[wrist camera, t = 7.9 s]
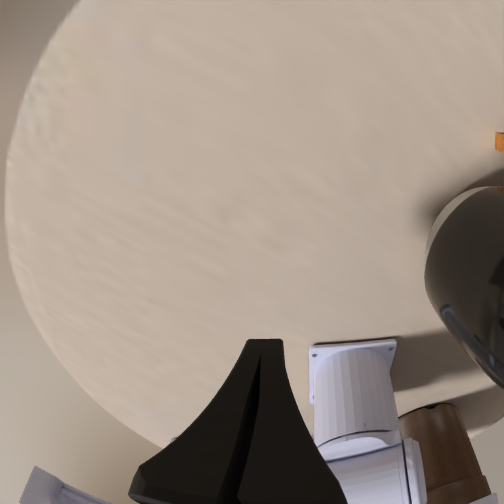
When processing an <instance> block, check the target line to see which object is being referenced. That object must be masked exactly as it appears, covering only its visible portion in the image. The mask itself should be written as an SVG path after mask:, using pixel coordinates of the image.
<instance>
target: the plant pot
mask: <svg viewBox="0 0 504 504" xmlns="http://www.w3.org/2000/svg"><path fill="white" fill-rule="evenodd" d="M398 419H399V424H400V430H401V434H402V437H403V440H405V439H407V438H412V439H413V440H415V441H417V442H419V447H420V452H421V458H422V464H423V470H424V477H425V485H426V493H427V503H426V504H469V503H471V502H474V501H476V500H479V499H481V498H484V497H486V496H488V495H491V491H490V488H489V485H488V483H487V479H486V477H485V476H483V475H482V472H481V470H480V466H479V464H478V461H477V458H476V455H475V453H474V450H473V448H472V445H471V442H470V440H469V437H468V434H467V432H466V429H465V427H464V424H463V422H462V419H461V417H460V414H459V411H458V409H457V408H456V407H455V406H453V405H449V404H439V405H437V406H436V407H435V408H433V409H426V408H422V409H419V410H416V411H413V412H411V413H409V414H406V415H404V416H402V417H400V418H398Z"/></svg>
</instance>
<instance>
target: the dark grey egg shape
mask: <svg viewBox="0 0 504 504" xmlns="http://www.w3.org/2000/svg"><path fill="white" fill-rule="evenodd" d="M424 279H425V288H426V292H427V295H428V298H429V300H430V302H431V304H432V306H433V308H434V310H435V311H436V313H437V315H438V316H439V318H440V319H441V320H442V322H443V323H444V325H445V326H446V327H447V329H448V330H449V331H450V333H451V334H452V335H453V337H454V338H455V339H456V341H457V342H458V343H459V344H460V346H461V347H462V348H463V349H464V350H465V351H466V353H467V354H468V355H469V356H470V357H471V358H472V359H473V360H474V362H475V363H476V364H477V365H478V366H479V367H480V368H481V369H482V370H483V371H484V372H485V373H486V374H487V375H488V376H489V377H490V378H491V379H492V380H493V381H494V382H495V383H496V384H497V385H498V386H499V387H500V388H501V389H503V390H504V186H492V187H488V186H486V187H478V188H473V189H471V190H468V191H466V192H463V193H462V194H460V195H458V196H457V197H455V198H454V199H453V200H452V201H450V202H449V203H448V204H447V205H446V206H445V207H444V209H443V210H442V211H441V212H440V214H439V215H438V217H437V218H436V220H435V222H434V224H433V226H432V228H431V231H430V233H429V236H428V240H427V244H426V250H425V276H424Z"/></svg>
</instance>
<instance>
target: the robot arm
mask: <svg viewBox="0 0 504 504" xmlns="http://www.w3.org/2000/svg"><path fill="white" fill-rule="evenodd" d="M396 347H397V341H396V339H386V340H376V341H366V342H355V343H342V344H327V345H313V346H311V347H310V348H309V366H310V403H311V404H314V441H313V439H312V437H311V435H310V433H309V431H308V429H307V427H306V425H305V423H304V421H303V418H302V416H301V414H300V411H299V409H298V406H297V404H296V401H295V398H294V396H293V393H292V390H291V387H290V383H289V380H288V376H287V372H286V368H285V359H284V347H283V340H281V339H249V340H247V341H246V344H245V346H244V348H243V350H242V352H241V354H240V356H239V358H238V360H237V362H236V364H235V366H234V367H233V369H232V371H231V372H230V374H229V376H228V377H227V379H226V381H225V382H224V384H223V385H222V387H221V388H220V389H219V391H218V392H217V394H216V395H215V397H214V398H213V399H212V401H211V402H210V403H209V404H208V406H207V407H206V408H205V409H204V411H203V412H202V413H201V414H200V415H199V416H198V417H197V419H196V420H195V421H194V422H193V423H192V424H191V425H190V426H189V427H188V428H187V429H186V430H185V431H184V432H183V433H182V434H181V435H180V436H178V437H177V438H176V439H175V440H174V441H173V442H171V443H170V444H169V445H168V446H167V447H165V448H164V449H163V450H162V451H160V452H159V453H158V454H156V455H155V456H153V457H152V458H150V459H149V460H148V461H146V462H145V463H143V464H141V465H140V466H139V468H138V470H137V472H136V474H135V476H134V478H133V481H132V484H131V487H130V490H129V493H128V495H129V497H130V498H131V499H133V500H134V501H136V502H138V503H140V504H426V503H427V493H426V485H425V477H424V470H423V464H422V458H421V452H420V447H419V442H417V441H415V440H413V439H412V438H407V439H405V440H403V437H402V434H401V430H400V424H399V419H398V413H397V408H396V403H395V398H394V393H393V388H392V383H391V378H390V374H389V372H390V369H391V365H392V362H393V358H394V354H395V351H396ZM19 504H112V503H109V502H107V501H104V500H102V499H99V498H96V497H94V496H92V495H90V494H87V493H85V492H83V491H81V490H78V489H76V488H74V487H72V486H70V485H68V484H66V483H64V482H63V481H62V480H60V479H59V478H57V477H55V476H54V475H52V474H50V473H48V472H46V471H45V470H43V469H41V468H39V467H38V466H34V468H33V471H32V473H31V475H30V477H29V480H28V482H27V484H26V487H25V489H24V491H23V494H22V496H21V498H20V501H19ZM469 504H498V499H497V494H496V493H493V494H491V495H488V496H486V497H484V498H481V499H479V500H476V501H474V502H471V503H469Z"/></svg>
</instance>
